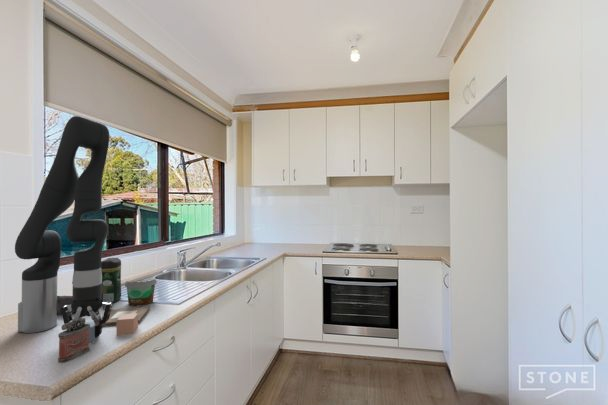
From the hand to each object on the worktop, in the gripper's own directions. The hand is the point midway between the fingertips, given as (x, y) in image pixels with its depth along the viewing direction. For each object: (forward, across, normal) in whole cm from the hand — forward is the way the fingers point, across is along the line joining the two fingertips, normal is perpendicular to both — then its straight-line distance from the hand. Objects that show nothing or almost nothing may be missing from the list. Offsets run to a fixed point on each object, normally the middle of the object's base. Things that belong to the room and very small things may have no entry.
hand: (87, 337), depth 95 cm
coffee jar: (+1, +8, -41) cm, 42 cm away
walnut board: (+1, -5, -18) cm, 19 cm away
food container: (+1, -6, -33) cm, 34 cm away
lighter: (+1, -1, +10) cm, 10 cm away
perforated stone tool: (+1, +19, -28) cm, 34 cm away
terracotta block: (+1, -10, -5) cm, 11 cm away
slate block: (+1, 0, 0) cm, 1 cm away
